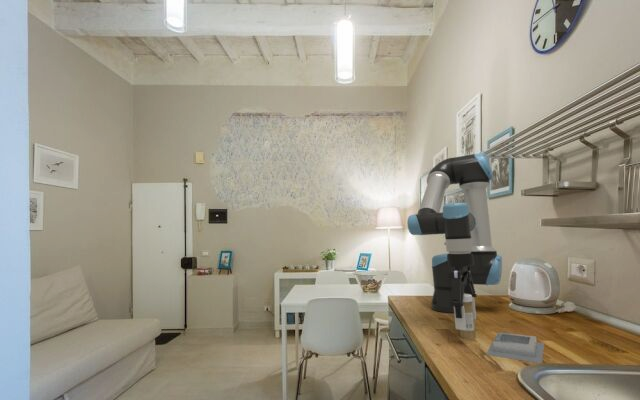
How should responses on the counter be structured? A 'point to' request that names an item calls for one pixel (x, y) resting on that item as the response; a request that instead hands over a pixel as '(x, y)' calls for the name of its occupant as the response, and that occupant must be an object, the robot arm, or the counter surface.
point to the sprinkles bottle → (468, 318)
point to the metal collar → (515, 344)
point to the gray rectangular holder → (535, 359)
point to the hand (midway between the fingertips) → (466, 323)
